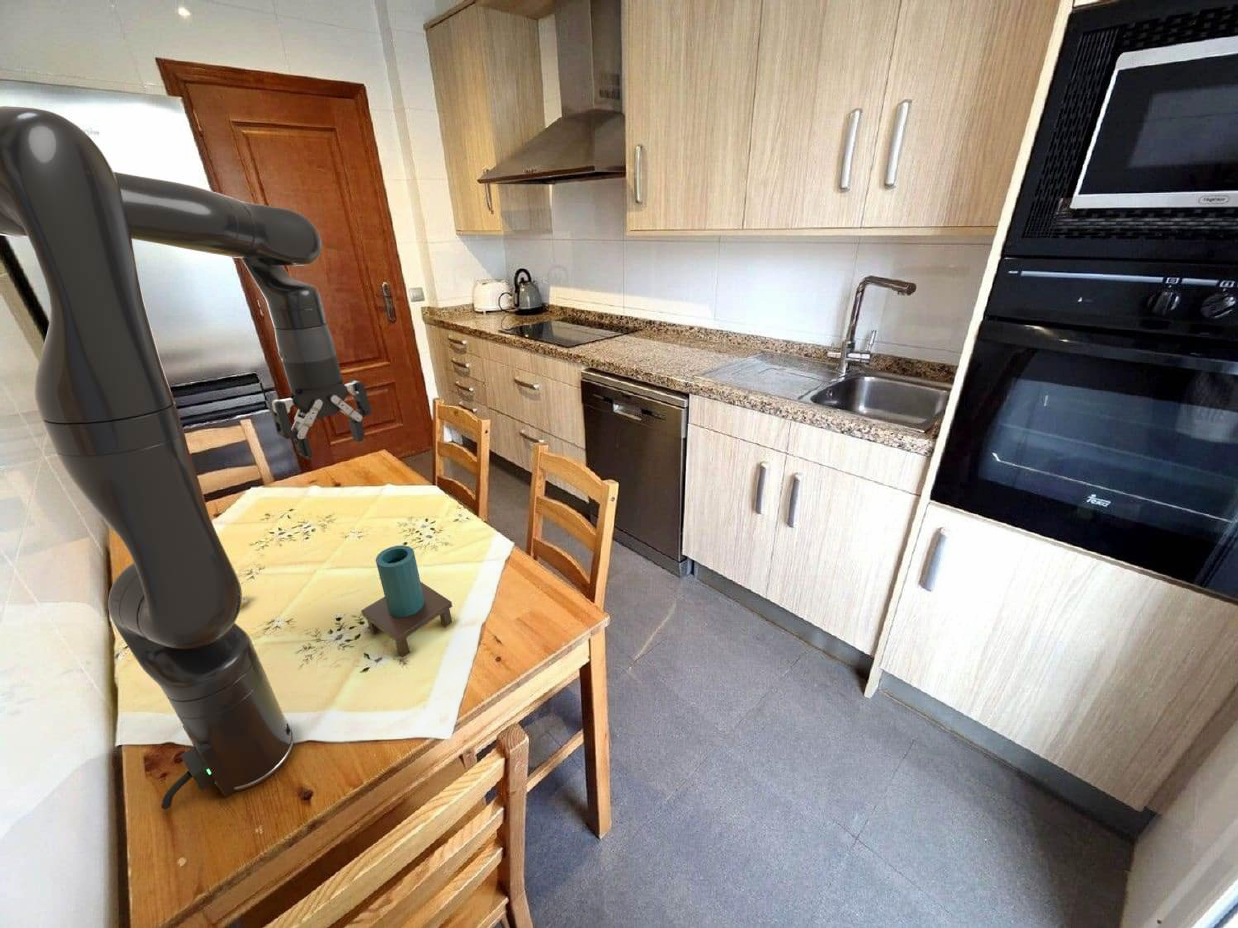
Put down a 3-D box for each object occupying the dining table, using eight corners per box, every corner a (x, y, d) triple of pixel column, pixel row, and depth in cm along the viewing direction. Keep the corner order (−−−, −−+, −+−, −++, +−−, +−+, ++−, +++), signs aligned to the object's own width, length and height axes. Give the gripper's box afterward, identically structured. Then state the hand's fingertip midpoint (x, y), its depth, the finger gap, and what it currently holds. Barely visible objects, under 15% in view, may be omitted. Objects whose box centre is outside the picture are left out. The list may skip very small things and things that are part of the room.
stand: (402, 660, 85) (396, 638, 83) (366, 631, 91) (360, 610, 89) (455, 622, 93) (451, 601, 91) (419, 598, 99) (415, 578, 97)
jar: (401, 622, 86) (388, 571, 81) (381, 607, 89) (368, 557, 85) (431, 603, 91) (421, 553, 86) (411, 589, 94) (400, 541, 89)
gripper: (269, 368, 71) (300, 470, 78) (365, 349, 81) (385, 440, 89) (247, 360, 75) (279, 457, 82) (341, 342, 85) (362, 431, 92)
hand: (334, 448), depth 85 cm, fingers open, 8 cm apart
